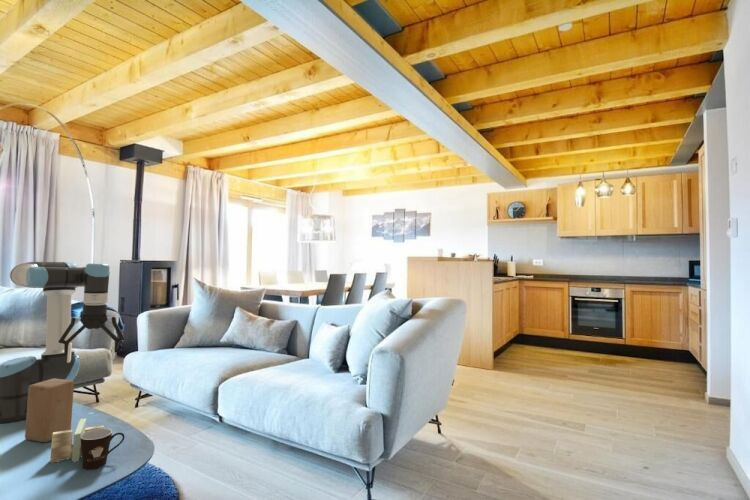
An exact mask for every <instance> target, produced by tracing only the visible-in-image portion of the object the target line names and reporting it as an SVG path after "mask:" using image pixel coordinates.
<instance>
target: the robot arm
mask: <svg viewBox="0 0 750 500" xmlns="http://www.w3.org/2000/svg"><path fill="white" fill-rule="evenodd" d="M9 273H10V274H9V278H10V280H11V281H12V284H15V285H16V286H19V287H24V288H30V289H42V294H44V295H46V297H47V298H46V330H45V331H46V332H45V339H46V340H45V350H44V351H43V352H42V353H41V355H40V356H41V357H40V358H37V357H36V356H33V355H32V356H31V355H29V356H22V357H21V356H20V357H16V358H12V359H9V360H6V361H3V362H2V363H1V364H0V424H5V423H13V422H19V421H23V420H26V416H27V402H28V389H29V386H30V385H32V384H35V383H39V382H43V381H46V380H50V379H53V378H56V379H63V380H71V381H74V380H75V379H76V377H77V375H78V373H79V369H80V364H81V363H80V362H81V359H80V356H79V354H76V353H75V350H74V349H73V343H72V341H73V340H74V339H75V338H77V336H79V334H80V333H81V332H83V331H84V330H85V329H88V330H91V329H95V330H98V329H102V331H104V332H105V333H106V334H107V335H108V336H109V337H110V338H111V339H112V340H113V341H112V345H111V359H110V360H112V361H113V360H114V359H115V355H116V354H115V353H116V352H115V351H118V350H119V346H120V345H119V342H120V341H121V342H122V341H123V340H125V335H124V334H123V331H122V330H121V328H120V326H119V324H118V322H117V317H116V315H113V316H109V317H108V316H107V314H108V313H107V312H108V305H107V303H108V300H109V299H108V298H109V297H108V295H109V284H110V283H109V282H110V274H111V272H110V265H109V264H107V263H95V262H94V263H92V262H90V263H87V264H86V265H85V266H83V267H79V266H78V265H77V264H76V263H74V262H65V261H27V262H25V263H20V264H18V265H16V266H14V267H13V268H12V269H11V270H10V272H9ZM79 287H80V288H83V287H84V288H83V289H84V290H83V300H82V303H83V304H84V305H82V315H81V317H77V316H73V317H72V295H73V294H74V293H75V292H76V288H79ZM107 321H109V323H111V324H112V326H113V328H114V329H115V332H116V333H117V335H116V334H115V333H114V332H113V331H112V330H111V329H110V328H109V327H108V326H107V324H106V322H107ZM78 322H80V323H81V324H82V326H80V328H78V329H77V330H76V331H75V332H74V333H71V332H72V329H73V328H74V326H75V325H76V324H78Z"/></svg>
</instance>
